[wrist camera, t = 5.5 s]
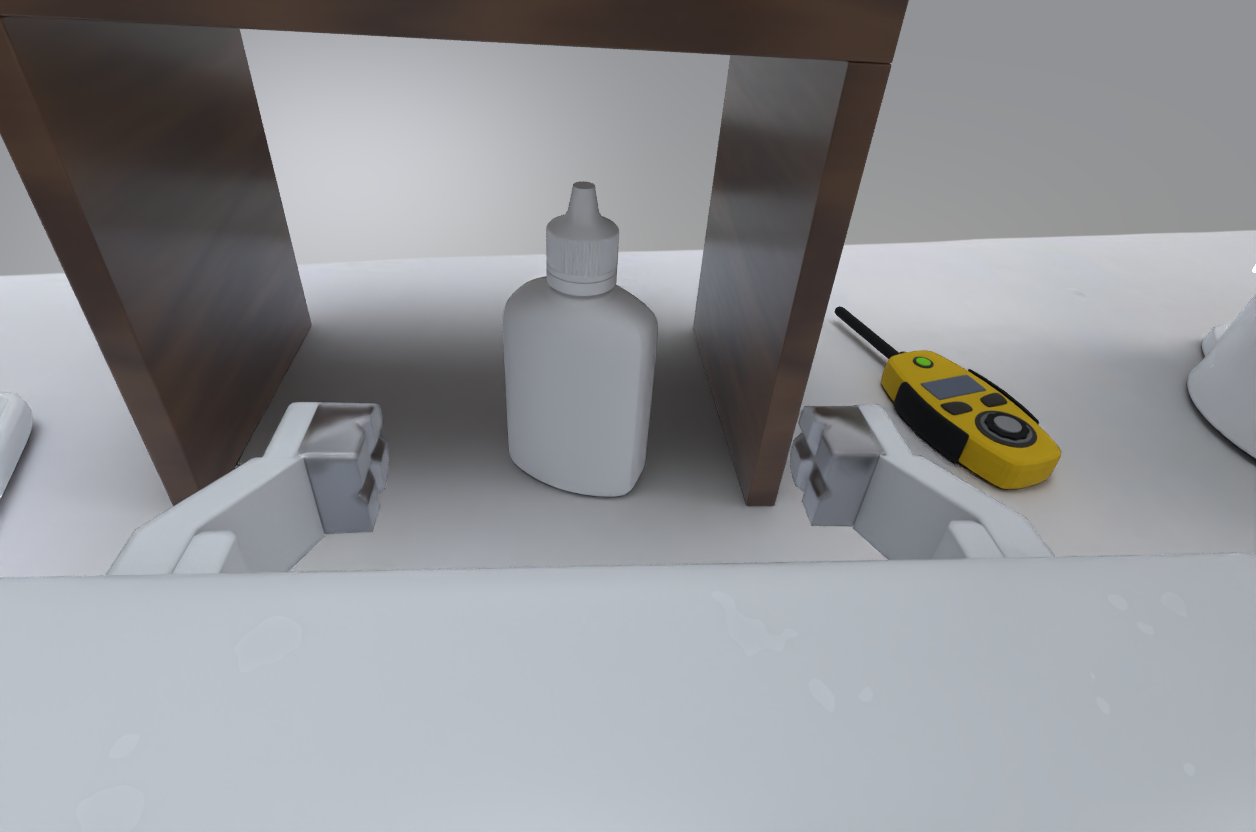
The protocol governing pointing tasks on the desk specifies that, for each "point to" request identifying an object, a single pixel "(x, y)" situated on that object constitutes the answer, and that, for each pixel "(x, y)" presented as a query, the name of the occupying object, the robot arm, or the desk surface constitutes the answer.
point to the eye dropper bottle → (579, 361)
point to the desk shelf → (257, 229)
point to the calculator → (12, 433)
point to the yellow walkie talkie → (964, 415)
